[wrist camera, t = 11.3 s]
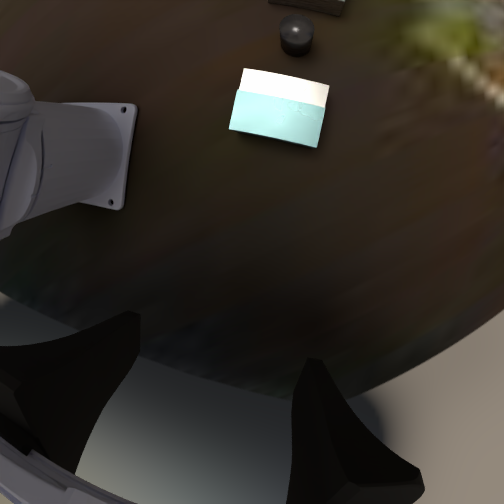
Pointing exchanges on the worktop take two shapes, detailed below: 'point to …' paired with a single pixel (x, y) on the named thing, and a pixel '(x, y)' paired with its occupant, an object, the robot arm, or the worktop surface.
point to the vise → (285, 87)
